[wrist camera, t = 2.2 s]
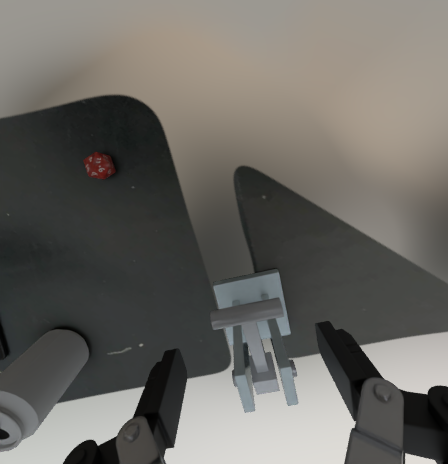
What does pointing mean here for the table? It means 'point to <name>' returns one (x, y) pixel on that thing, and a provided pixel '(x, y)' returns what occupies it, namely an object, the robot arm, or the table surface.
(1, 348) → the smartphone
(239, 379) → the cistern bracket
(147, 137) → the table surface
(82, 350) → the can
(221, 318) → the flush lever
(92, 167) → the die
